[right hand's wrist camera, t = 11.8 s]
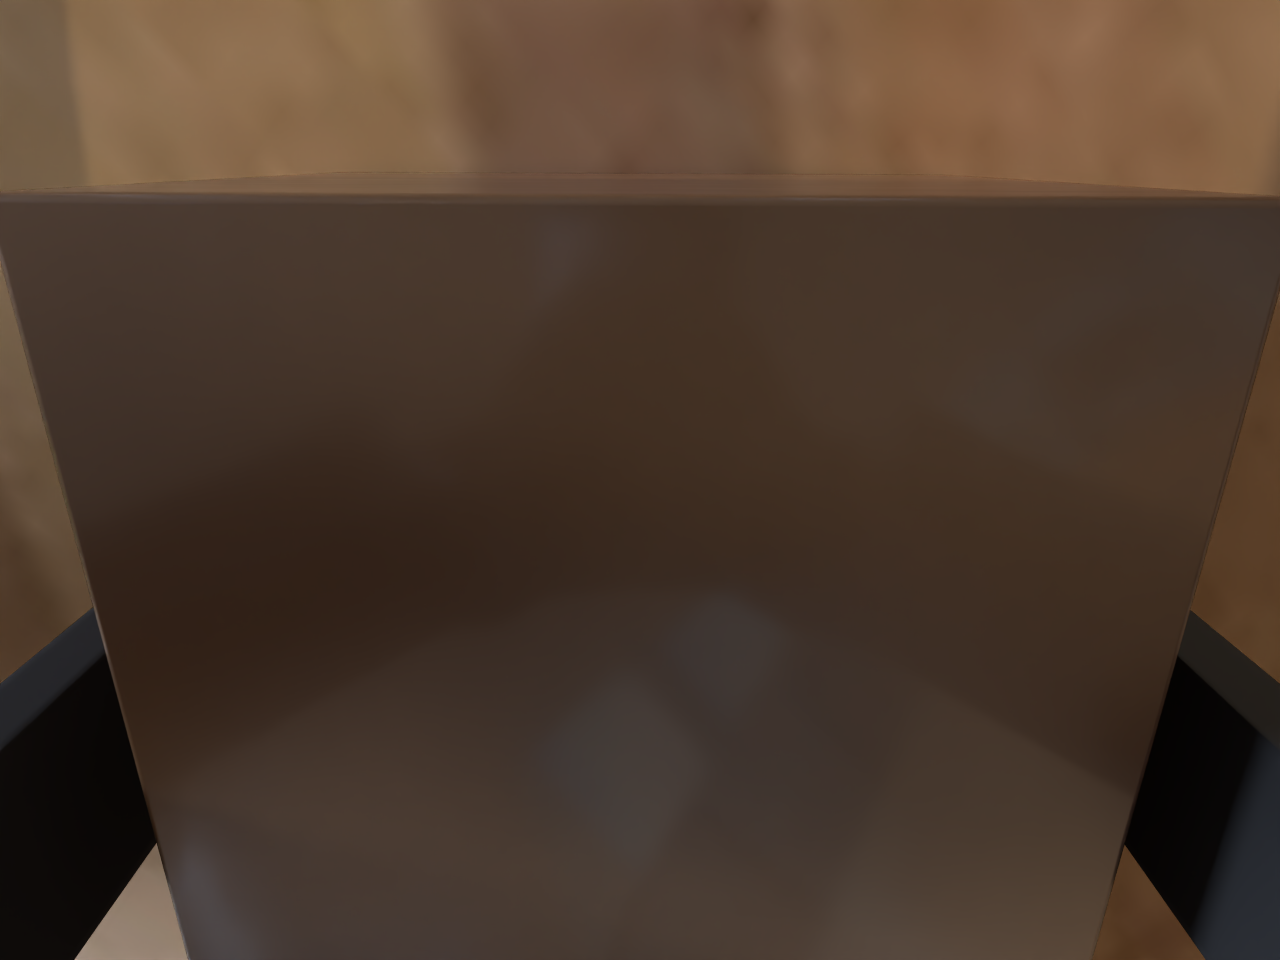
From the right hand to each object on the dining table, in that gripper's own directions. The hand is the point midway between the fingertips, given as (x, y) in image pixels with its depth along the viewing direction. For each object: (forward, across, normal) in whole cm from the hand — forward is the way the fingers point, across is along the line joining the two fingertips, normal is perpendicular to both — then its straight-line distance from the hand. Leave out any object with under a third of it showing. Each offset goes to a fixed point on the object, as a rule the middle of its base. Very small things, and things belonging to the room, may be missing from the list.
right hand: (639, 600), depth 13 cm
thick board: (+2, 0, -24) cm, 25 cm away
